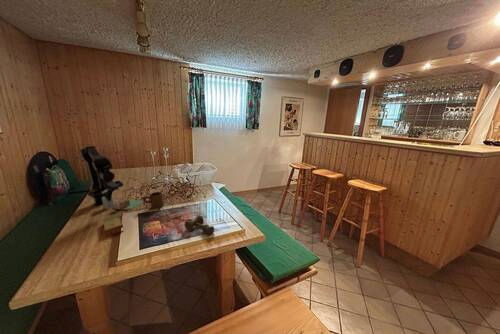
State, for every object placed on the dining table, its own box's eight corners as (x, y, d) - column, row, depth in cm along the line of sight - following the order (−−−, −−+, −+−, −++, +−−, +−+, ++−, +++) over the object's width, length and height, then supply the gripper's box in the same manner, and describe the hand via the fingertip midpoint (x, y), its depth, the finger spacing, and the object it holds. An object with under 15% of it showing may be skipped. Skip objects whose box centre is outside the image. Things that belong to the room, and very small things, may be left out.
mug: (145, 211, 127) (143, 198, 125) (143, 207, 134) (141, 194, 131) (164, 207, 134) (162, 194, 131) (162, 203, 140) (160, 191, 137)
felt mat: (115, 206, 135) (114, 206, 134) (129, 199, 146) (129, 199, 146) (130, 209, 131) (130, 208, 131) (144, 201, 142) (144, 201, 142)
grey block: (104, 208, 132) (101, 197, 130) (109, 205, 136) (107, 195, 134) (108, 209, 131) (106, 198, 129) (113, 206, 135) (111, 196, 133)
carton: (105, 237, 102) (104, 230, 101) (103, 224, 114) (102, 218, 113) (124, 231, 107) (122, 224, 106) (120, 219, 119) (119, 213, 118)
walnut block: (114, 202, 128) (125, 199, 136) (114, 208, 129) (125, 204, 137) (118, 203, 127) (129, 200, 135) (119, 209, 128) (129, 205, 136)
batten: (113, 208, 132) (112, 206, 132) (114, 207, 133) (114, 206, 133) (126, 210, 129) (126, 209, 129) (128, 209, 130) (127, 208, 130)
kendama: (204, 240, 99) (180, 227, 110) (218, 232, 107) (194, 220, 118) (204, 230, 98) (179, 218, 108) (217, 222, 105) (193, 211, 116)
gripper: (98, 184, 108) (104, 209, 112) (127, 174, 125) (131, 196, 129) (84, 182, 111) (90, 207, 115) (114, 173, 128) (118, 194, 132)
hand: (109, 201), depth 123 cm, fingers closed
